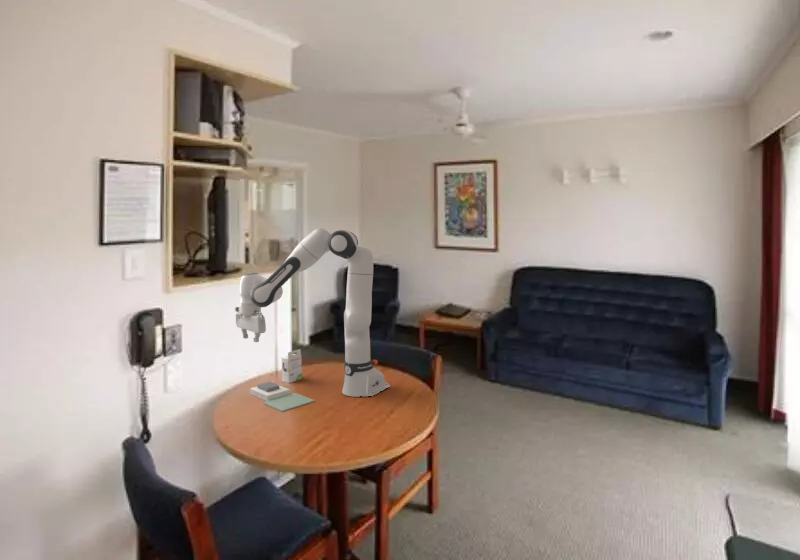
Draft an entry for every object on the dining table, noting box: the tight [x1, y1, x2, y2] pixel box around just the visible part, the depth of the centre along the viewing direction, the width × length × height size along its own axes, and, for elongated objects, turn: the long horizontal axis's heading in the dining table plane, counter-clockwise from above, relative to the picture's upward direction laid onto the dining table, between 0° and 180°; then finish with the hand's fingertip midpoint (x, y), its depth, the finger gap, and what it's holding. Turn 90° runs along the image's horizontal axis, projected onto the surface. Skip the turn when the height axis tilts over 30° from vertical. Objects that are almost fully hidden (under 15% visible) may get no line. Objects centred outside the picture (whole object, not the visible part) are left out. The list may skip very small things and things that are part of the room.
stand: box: [249, 385, 291, 402], centre depth 216 cm, size 11×14×2 cm
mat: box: [262, 392, 316, 413], centre depth 206 cm, size 16×14×1 cm
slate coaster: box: [256, 381, 280, 392], centre depth 216 cm, size 6×8×2 cm
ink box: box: [281, 348, 303, 384], centre depth 235 cm, size 9×5×15 cm, turn 144°
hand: (250, 340), depth 220 cm, fingers open, 8 cm apart
